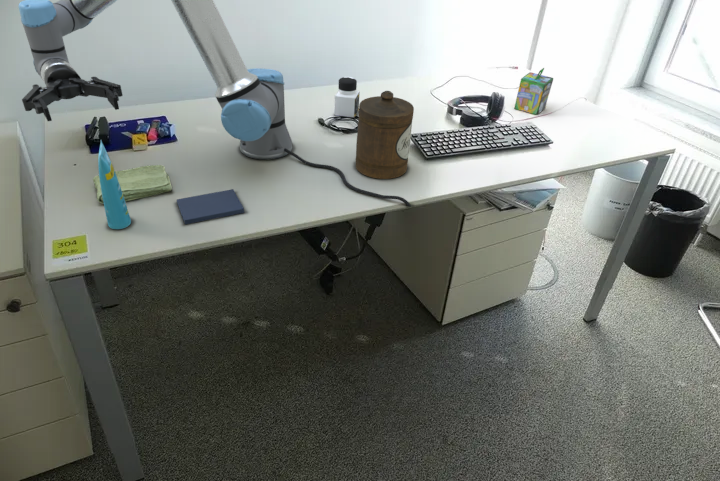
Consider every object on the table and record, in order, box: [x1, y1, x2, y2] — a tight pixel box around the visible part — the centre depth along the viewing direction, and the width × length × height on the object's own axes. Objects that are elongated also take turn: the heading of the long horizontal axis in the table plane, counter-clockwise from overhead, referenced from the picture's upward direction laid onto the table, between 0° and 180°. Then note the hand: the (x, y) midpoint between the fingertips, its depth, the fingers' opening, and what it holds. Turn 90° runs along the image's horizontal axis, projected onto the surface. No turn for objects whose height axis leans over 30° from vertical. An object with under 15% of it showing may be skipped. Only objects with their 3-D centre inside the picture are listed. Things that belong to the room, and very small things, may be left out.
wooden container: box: [355, 90, 415, 180], centre depth 142 cm, size 15×15×22 cm
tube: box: [97, 140, 132, 230], centre depth 114 cm, size 7×5×19 cm, turn 26°
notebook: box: [175, 188, 245, 225], centre depth 126 cm, size 14×10×1 cm
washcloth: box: [92, 164, 173, 205], centre depth 131 cm, size 13×18×3 cm
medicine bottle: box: [333, 76, 360, 119], centre depth 176 cm, size 7×7×12 cm
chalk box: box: [513, 67, 554, 116], centre depth 187 cm, size 9×9×15 cm
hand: (83, 109), depth 112 cm, fingers open, 13 cm apart
